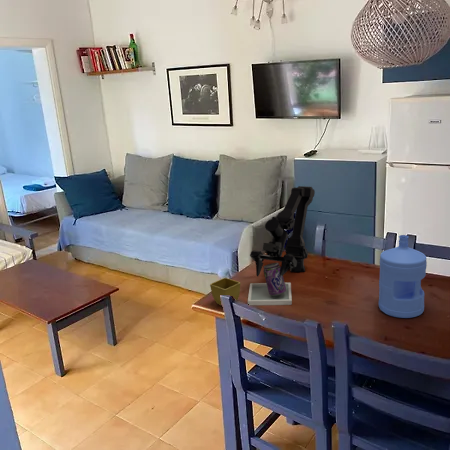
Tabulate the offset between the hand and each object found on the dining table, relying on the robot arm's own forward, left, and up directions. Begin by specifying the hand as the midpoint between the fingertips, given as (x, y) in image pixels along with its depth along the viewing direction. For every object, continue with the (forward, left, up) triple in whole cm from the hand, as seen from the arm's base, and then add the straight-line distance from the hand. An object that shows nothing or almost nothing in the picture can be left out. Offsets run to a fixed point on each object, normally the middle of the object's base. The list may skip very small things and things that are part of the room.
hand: (267, 277), depth 186 cm
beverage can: (+1, +4, -7) cm, 8 cm away
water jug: (+12, +49, -9) cm, 51 cm away
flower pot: (+6, -16, -9) cm, 19 cm away
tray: (-1, +1, -8) cm, 9 cm away
